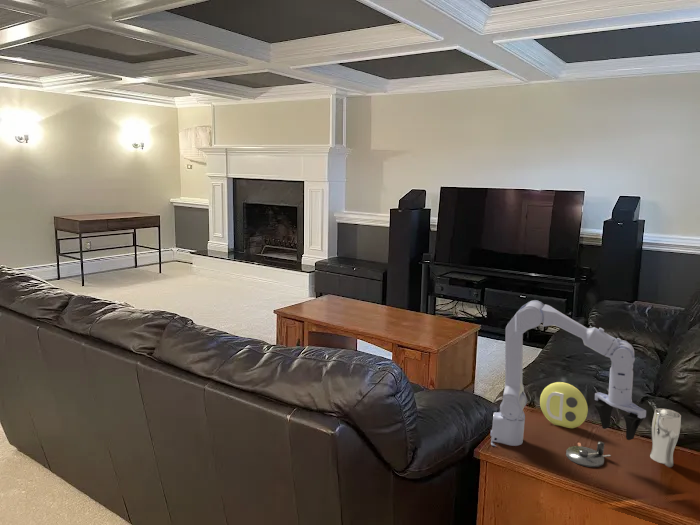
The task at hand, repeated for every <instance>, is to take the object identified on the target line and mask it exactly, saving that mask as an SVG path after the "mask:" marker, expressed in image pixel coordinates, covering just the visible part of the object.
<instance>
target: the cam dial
mask: <svg viewBox="0 0 700 525" xmlns="http://www.w3.org/2000/svg"><path fill="white" fill-rule="evenodd" d="M604 451H605V442H603V441H601V440H600V441H597V445H596V450H595V449H593V448H590V447H587V446H583V445H581V446H578V445H574V446H573V445H572V446H569V447H568V448H567V449H566V450H565V452H566V453H565V456H566V458H567V459H568V460H570V461H571V462H572V463H575V464H577V465H579V466H582V467H587V468H599V467H602V466H603V465H604V463H605V457H604V456H603V455H604V453H605V452H604Z"/></svg>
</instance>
